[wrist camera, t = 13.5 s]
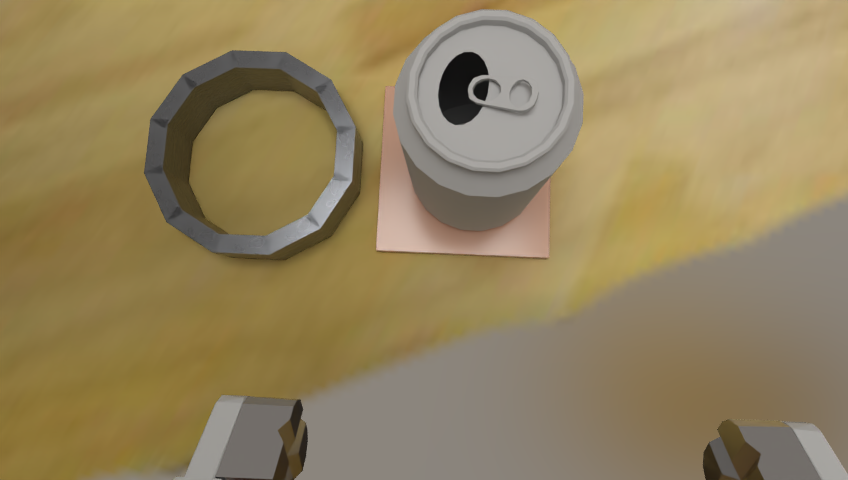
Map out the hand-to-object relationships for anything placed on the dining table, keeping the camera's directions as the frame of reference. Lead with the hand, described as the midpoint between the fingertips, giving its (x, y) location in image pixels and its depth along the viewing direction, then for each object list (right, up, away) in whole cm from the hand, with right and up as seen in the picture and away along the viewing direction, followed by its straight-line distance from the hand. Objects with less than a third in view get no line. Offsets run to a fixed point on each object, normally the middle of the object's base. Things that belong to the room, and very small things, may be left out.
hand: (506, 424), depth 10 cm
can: (+1, +8, +21) cm, 22 cm away
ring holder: (-11, +8, +21) cm, 26 cm away
